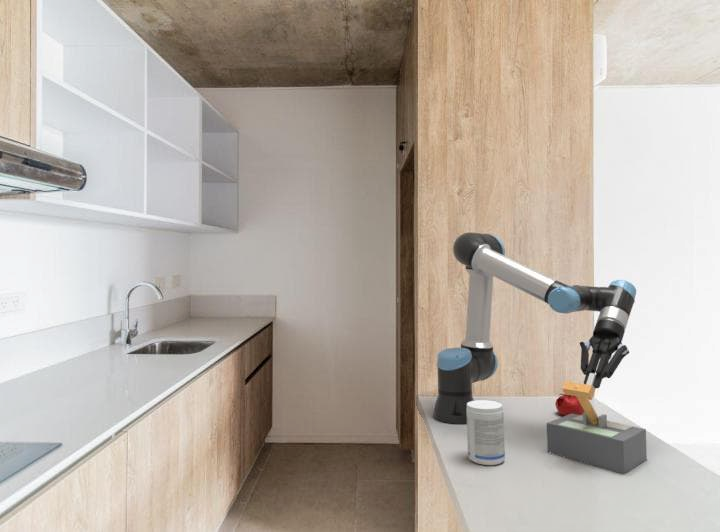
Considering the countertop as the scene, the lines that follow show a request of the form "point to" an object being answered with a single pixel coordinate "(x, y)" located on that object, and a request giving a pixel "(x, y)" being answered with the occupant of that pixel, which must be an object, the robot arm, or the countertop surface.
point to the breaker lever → (582, 398)
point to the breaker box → (597, 442)
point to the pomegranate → (569, 405)
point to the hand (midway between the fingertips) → (587, 396)
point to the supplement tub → (485, 432)
